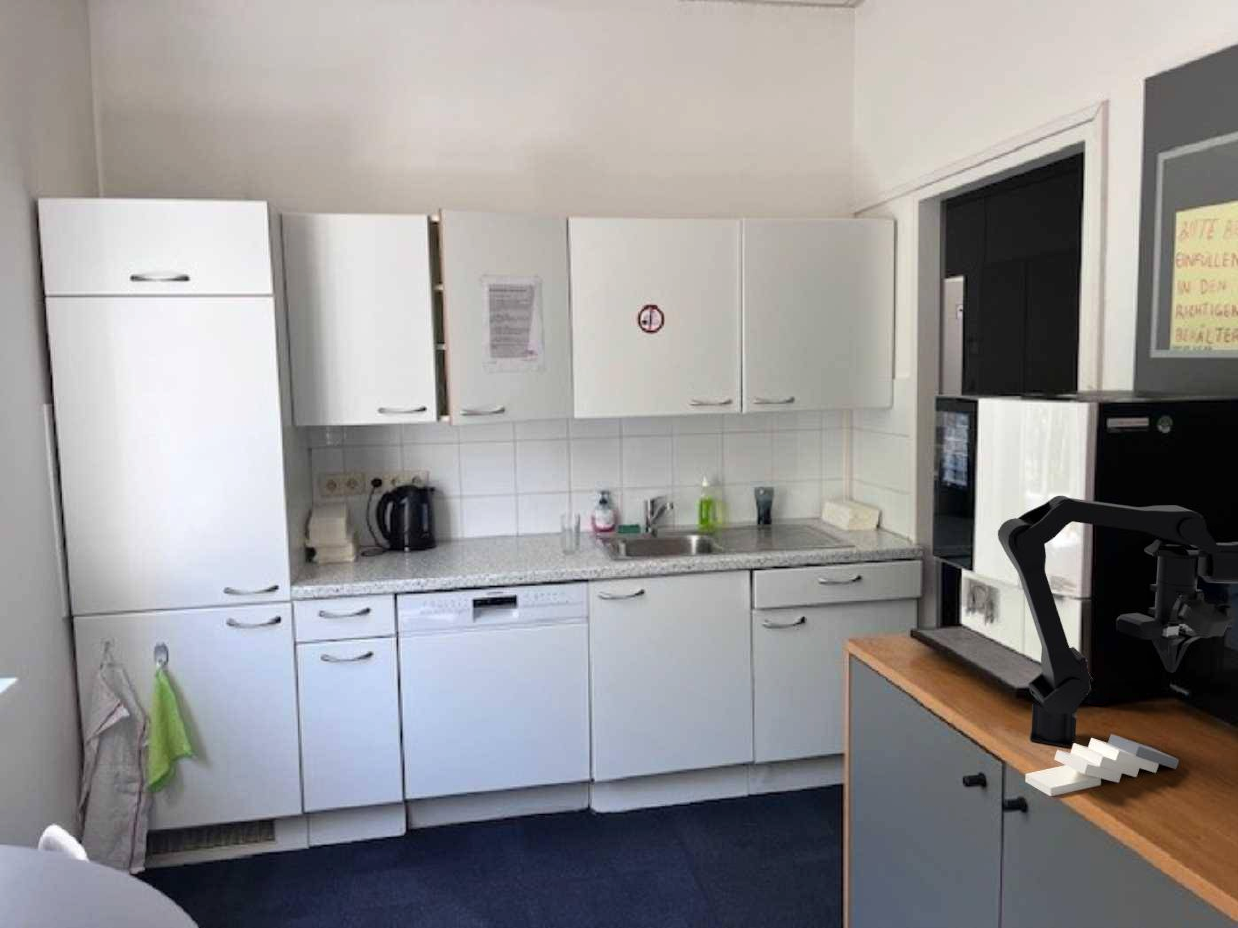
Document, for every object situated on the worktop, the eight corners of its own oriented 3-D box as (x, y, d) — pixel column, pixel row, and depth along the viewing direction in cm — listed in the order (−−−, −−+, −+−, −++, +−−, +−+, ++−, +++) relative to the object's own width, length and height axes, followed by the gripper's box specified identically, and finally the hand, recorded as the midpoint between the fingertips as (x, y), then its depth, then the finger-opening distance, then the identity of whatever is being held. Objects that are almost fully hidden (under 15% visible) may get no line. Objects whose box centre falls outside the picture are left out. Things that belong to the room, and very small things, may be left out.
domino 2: (1118, 782, 137) (1084, 773, 132) (1088, 768, 142) (1053, 759, 137) (1122, 772, 137) (1087, 763, 132) (1091, 758, 142) (1057, 749, 137)
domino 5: (1175, 769, 141) (1135, 755, 138) (1147, 756, 146) (1107, 743, 142) (1179, 759, 141) (1138, 746, 138) (1150, 747, 146) (1111, 733, 142)
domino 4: (1155, 772, 140) (1115, 760, 136) (1127, 759, 145) (1088, 746, 141) (1159, 763, 140) (1119, 750, 136) (1130, 750, 145) (1091, 737, 141)
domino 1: (1100, 786, 137) (1050, 797, 133) (1074, 772, 141) (1025, 783, 138) (1101, 776, 137) (1050, 787, 133) (1074, 763, 141) (1025, 773, 138)
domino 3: (1136, 777, 139) (1099, 766, 134) (1107, 763, 143) (1070, 752, 139) (1139, 767, 139) (1102, 756, 134) (1110, 753, 143) (1073, 742, 139)
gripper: (1173, 598, 137) (1167, 694, 139) (1266, 589, 142) (1258, 681, 144) (1116, 581, 148) (1111, 670, 150) (1203, 573, 153) (1197, 659, 155)
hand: (1170, 671), depth 149 cm, fingers closed
